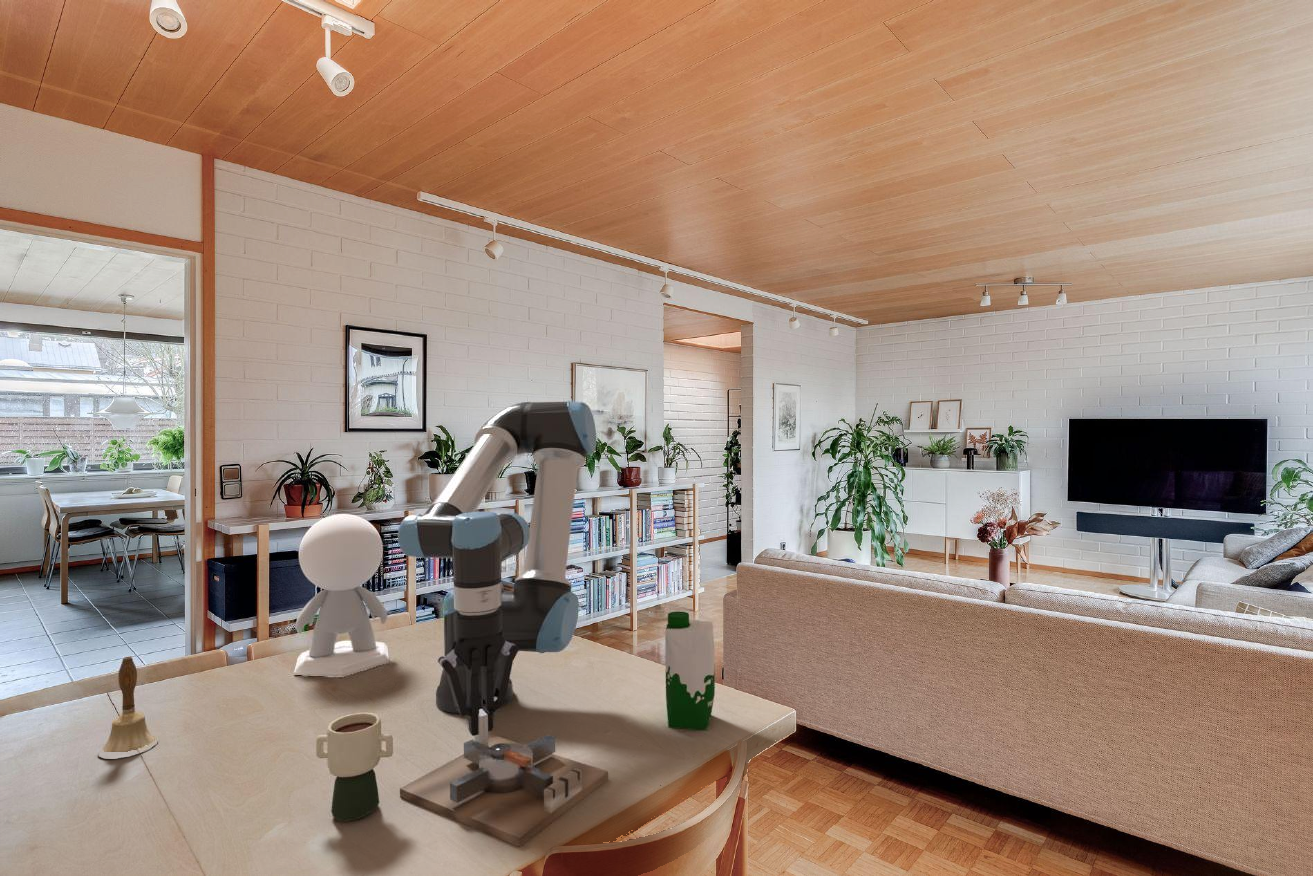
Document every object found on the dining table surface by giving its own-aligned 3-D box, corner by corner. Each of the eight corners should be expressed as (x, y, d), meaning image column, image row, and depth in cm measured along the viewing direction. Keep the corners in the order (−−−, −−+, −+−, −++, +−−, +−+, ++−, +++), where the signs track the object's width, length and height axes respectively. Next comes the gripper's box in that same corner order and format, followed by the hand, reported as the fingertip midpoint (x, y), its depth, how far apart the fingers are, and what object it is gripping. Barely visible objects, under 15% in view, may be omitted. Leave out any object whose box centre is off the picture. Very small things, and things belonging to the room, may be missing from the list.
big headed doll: (386, 642, 176) (384, 507, 175) (390, 671, 155) (388, 518, 154) (299, 653, 168) (297, 512, 167) (291, 685, 147) (288, 523, 146)
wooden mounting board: (400, 796, 101) (399, 768, 101) (496, 743, 119) (496, 719, 118) (519, 847, 89) (519, 815, 89) (608, 779, 106) (608, 752, 106)
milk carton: (671, 709, 132) (670, 607, 132) (717, 713, 130) (716, 609, 130) (662, 729, 123) (661, 620, 123) (711, 733, 122) (711, 622, 121)
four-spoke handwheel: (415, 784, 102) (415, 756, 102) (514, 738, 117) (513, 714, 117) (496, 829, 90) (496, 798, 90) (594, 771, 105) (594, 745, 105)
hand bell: (169, 741, 120) (168, 652, 120) (119, 763, 112) (117, 668, 112) (137, 735, 123) (135, 647, 123) (86, 756, 115) (84, 662, 115)
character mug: (402, 798, 101) (401, 711, 101) (384, 826, 94) (382, 733, 94) (329, 799, 101) (327, 712, 101) (305, 827, 94) (303, 734, 94)
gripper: (445, 622, 103) (448, 774, 104) (524, 607, 110) (527, 750, 111) (431, 610, 109) (435, 753, 110) (507, 597, 116) (510, 732, 117)
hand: (481, 751), depth 110 cm, fingers closed
